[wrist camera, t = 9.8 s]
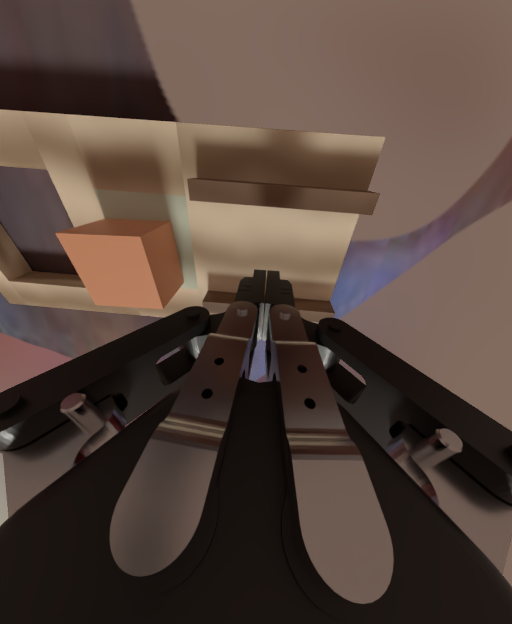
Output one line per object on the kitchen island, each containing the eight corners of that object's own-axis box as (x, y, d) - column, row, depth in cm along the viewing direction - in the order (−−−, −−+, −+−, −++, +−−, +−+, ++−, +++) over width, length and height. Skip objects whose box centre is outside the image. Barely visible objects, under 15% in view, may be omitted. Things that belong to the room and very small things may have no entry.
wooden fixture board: (-101, 107, 15) (-225, 87, 11) (369, 141, 14) (403, 132, 10) (31, 292, 24) (-11, 313, 20) (315, 317, 23) (323, 344, 20)
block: (104, 218, 16) (54, 233, 12) (170, 221, 16) (140, 236, 12) (129, 279, 19) (95, 305, 16) (184, 282, 19) (163, 309, 15)
